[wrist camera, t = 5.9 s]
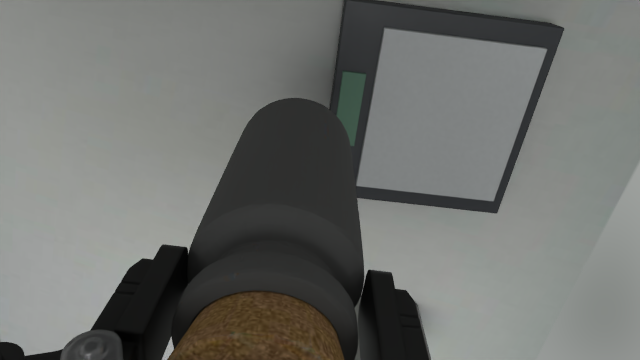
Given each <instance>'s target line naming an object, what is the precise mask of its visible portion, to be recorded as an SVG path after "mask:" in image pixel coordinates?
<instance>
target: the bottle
mask: <svg viewBox="0 0 640 360" xmlns="http://www.w3.org/2000/svg"><path fill="white" fill-rule="evenodd" d="M187 279H188V286H187V287H186V288H185V290H184V292H183V294H182V296H181V298H180V301H179V304H178V306H177V309H176V311H175V314H174V317H173V322H172V327H171V336H172V342H173V346H174V351H173V352H172V353H171V355H170V356H169V358H168V359H167V360H355V357H356V354H357V350H358V326H357V317H356V313H355V309H354V308H355V307H356V305H357V304H358V301H359V299H360V297H361V293H362V289H363V283H364V262H363V251H362V240H361V230H360V221H359V212H358V204H357V195H356V186H355V178H354V169H353V160H352V152H351V146H350V141H349V137H348V134H347V131H346V129H345V127H344V126H343V124H342V122H341V121H340V120H339V118H338V117H337V116H336V115H335V114H334V113H333V112H332V111H330V110H329V109H328V108H326V107H325V106H323V105H321V104H319V103H316V102H314V101H311V100H307V99H301V98H287V99H282V100H278V101H275V102H272V103H270V104H268V105H266V106H265V107H263V108H262V109H260V110H259V111H258V112H257V113H256V114H255V115H254V116H253V117H252V119H251V120H250V121H249V122H248V124H247V126H246V127H245V129H244V131H243V133H242V135H241V137H240V139H239V141H238V143H237V145H236V147H235V150H234V152H233V154H232V156H231V158H230V160H229V162H228V165H227V167H226V169H225V171H224V173H223V175H222V178H221V180H220V182H219V184H218V186H217V188H216V190H215V193H214V195H213V197H212V199H211V201H210V203H209V206H208V208H207V210H206V212H205V214H204V216H203V219H202V221H201V223H200V225H199V227H198V230H197V232H196V234H195V237H194V239H193V242H192V244H191V247H190V250H189V254H188V261H187Z"/></svg>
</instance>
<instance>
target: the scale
mask: <svg viewBox="0 0 640 360" xmlns="http://www.w3.org/2000/svg"><path fill="white" fill-rule="evenodd" d="M563 31H564V28H563V27H560V26H557V25H554V24H552V23H545V22H538V21H530V20H522V19H515V18H507V17H499V16H492V15H484V14H476V13H469V12H461V11H453V10H446V9H438V8H430V7H423V6H415V5H407V4H400V3H392V2H384V1H377V0H344V7H343V14H342V21H341V29H340V36H339V44H338V51H337V58H336V66H335V73H334V81H333V88H332V95H331V103H330V111H332V112H333V113H334V114H335V115H336V116H337V117H338V118H339V120H340V121H341V122H342V124H343V126H344V127H345V129H346V131H347V134H348V137H349V141H350V146H351V152H352V160H353V169H354V178H355V186H356V195H357V198H364V199H373V200H382V201H391V202H400V203H409V204H418V205H426V206H435V207H444V208H453V209H462V210H471V211H480V212H489V213H497V212H498V209H499V207H500V204H501V201H502V198H503V196H504V193H505V190H506V187H507V185H508V182H509V179H510V176H511V174H512V171H513V168H514V165H515V163H516V160H517V157H518V154H519V152H520V149H521V146H522V143H523V141H524V138H525V135H526V132H527V130H528V127H529V124H530V121H531V119H532V116H533V113H534V110H535V108H536V105H537V102H538V99H539V97H540V94H541V91H542V88H543V86H544V83H545V80H546V77H547V75H548V72H549V69H550V66H551V64H552V61H553V58H554V55H555V53H556V50H557V47H558V44H559V42H560V39H561V36H562V33H563Z"/></svg>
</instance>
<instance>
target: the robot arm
mask: <svg viewBox="0 0 640 360" xmlns="http://www.w3.org/2000/svg"><path fill="white" fill-rule="evenodd" d="M187 261H188V250H187V247H180V246H172V245H162V246H161V247H160V249H159V251H158V252H157V254H156V256H155V258H154V260H151V259H141V260H140V261H139V262H137V263H136V264H134V265H133V266H132V267H130V268H129V270H128V271H127V273H126V274H125V276H124V278H123V279H122V282H121V283H120V284H119V286H118V287H117V289H116V290H115V293H114V294H113V295H112V297H111V298H110V300H109V302H108V303H107V305H106V306H105V308H104V310H103V311H102V313H101V314H100V316H99V318H98V319H97V321H96V322H95V324H94V326H93V327H92V329H91V330H90V331H88V332H85V333H82V334H80V335H78V336H76V337H75V338H73V339H72V340H71V341H70V342H69V343H68V344H67V345H66V346H65V347H64V349H62V350H59V351H54V352H48V353H42V354H35V355H29V356H25V355H24V352H23V350H22V348H21V347H20V346H18V345H17V344H14V343H9V342H0V360H162V357H163V355H164V352H165V350H166V347H167V345H168V342H169V340H170V338H171V327H172V322H173V317H174V314H175V311H176V309H177V306H178V304H179V301H180V298H181V296H182V294H183V292H184V290H185V288H186V287H187V286H188V279H187ZM358 333H359V347H360V360H429V357H428V353H427V349H426V345H425V341H424V336H423V332H422V329H421V324H420V320H419V318H418V312H417V307H416V303H415V302H414V300H413V299H412V297H411V296H410V295H409V293H408V292H407V291H406V290H399V289H395V287H394V281H393V276H392V273H391V272H383V271H375V270H368V272H367V275H366V279H365V283H364V288H363V292H362V296H361V300H360V305H359V311H358Z"/></svg>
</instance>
